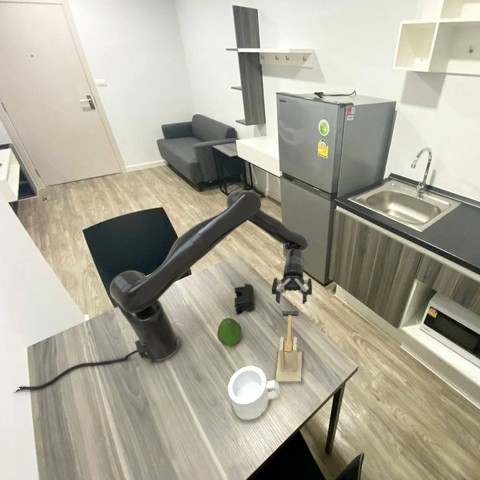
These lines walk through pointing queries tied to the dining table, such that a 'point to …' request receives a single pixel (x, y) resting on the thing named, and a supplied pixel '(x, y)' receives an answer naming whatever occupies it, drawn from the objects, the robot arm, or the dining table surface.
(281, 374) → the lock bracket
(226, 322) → the avocado
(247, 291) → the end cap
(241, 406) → the mug
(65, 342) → the dining table surface
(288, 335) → the lever
